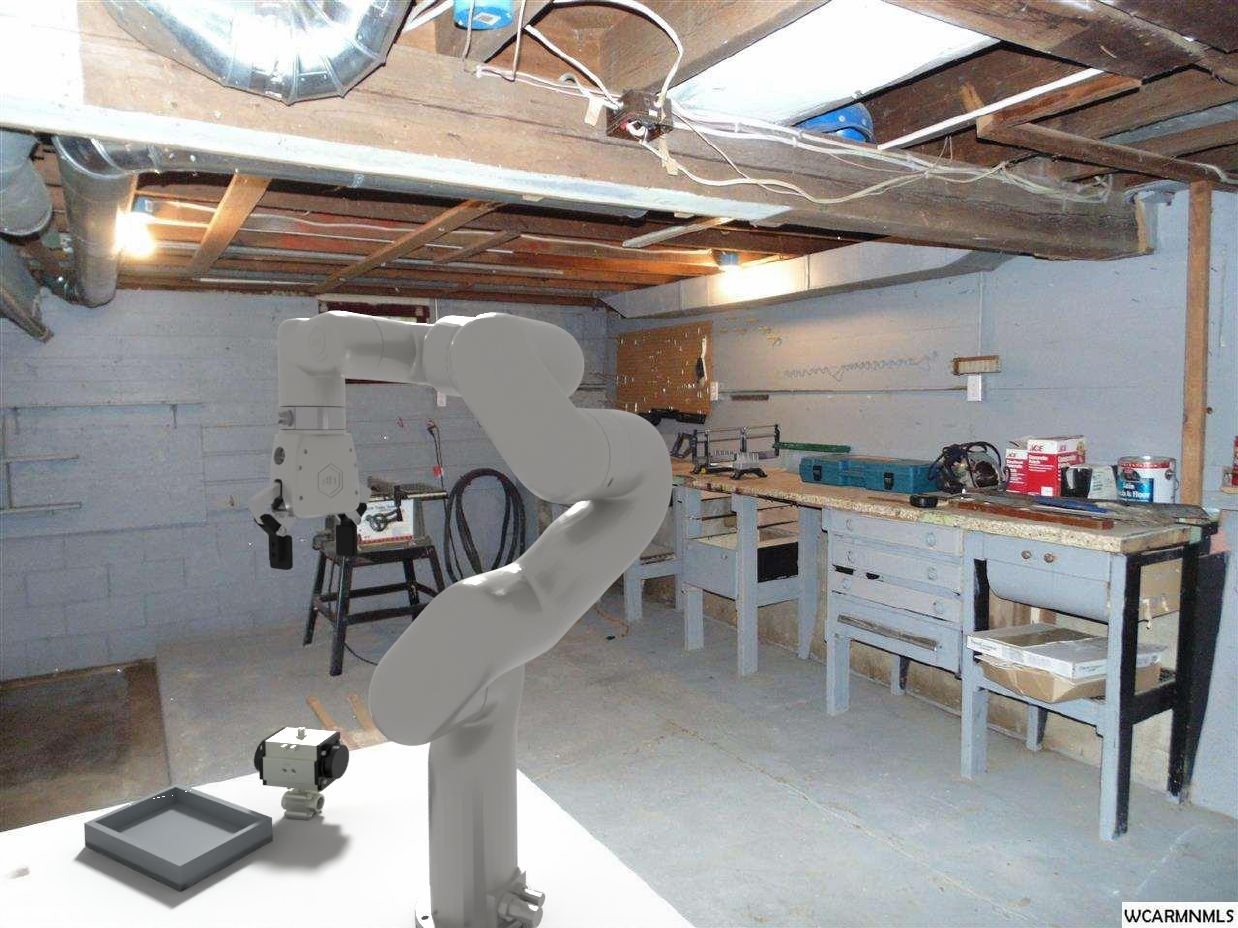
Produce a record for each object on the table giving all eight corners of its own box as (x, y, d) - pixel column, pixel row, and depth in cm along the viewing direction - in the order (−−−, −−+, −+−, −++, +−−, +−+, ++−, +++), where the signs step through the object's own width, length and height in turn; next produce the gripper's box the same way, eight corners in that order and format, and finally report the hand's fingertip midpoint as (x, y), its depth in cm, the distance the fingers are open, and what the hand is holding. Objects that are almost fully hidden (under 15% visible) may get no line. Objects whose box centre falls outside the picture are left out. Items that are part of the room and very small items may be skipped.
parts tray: (272, 840, 96) (272, 817, 96) (180, 891, 85) (179, 866, 85) (178, 803, 105) (177, 783, 105) (85, 846, 94) (84, 822, 94)
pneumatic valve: (276, 801, 106) (274, 718, 105) (351, 808, 104) (349, 724, 103) (250, 821, 100) (247, 734, 100) (328, 830, 98) (326, 741, 98)
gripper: (271, 422, 81) (274, 577, 82) (388, 422, 96) (390, 553, 97) (227, 422, 84) (230, 571, 85) (347, 422, 100) (349, 549, 101)
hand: (315, 561), depth 91 cm, fingers open, 9 cm apart
